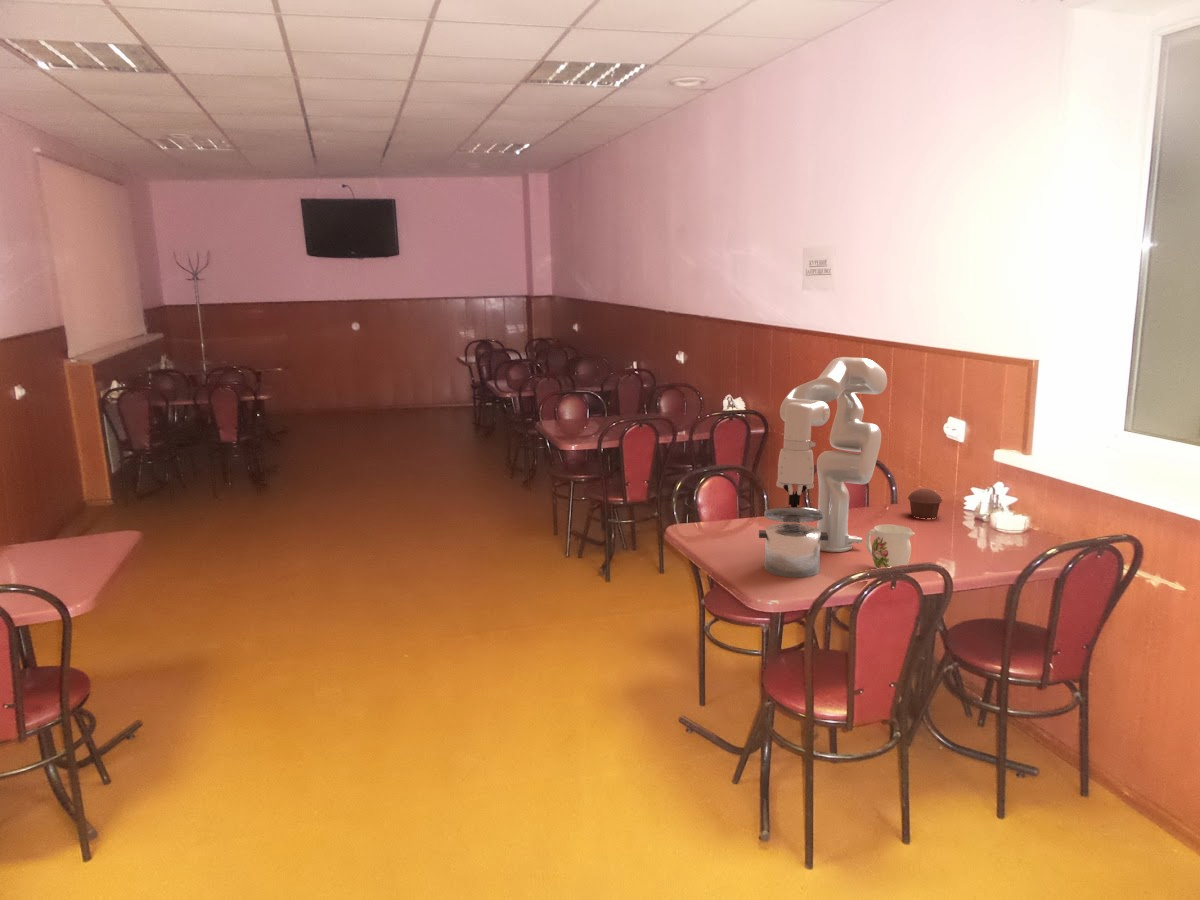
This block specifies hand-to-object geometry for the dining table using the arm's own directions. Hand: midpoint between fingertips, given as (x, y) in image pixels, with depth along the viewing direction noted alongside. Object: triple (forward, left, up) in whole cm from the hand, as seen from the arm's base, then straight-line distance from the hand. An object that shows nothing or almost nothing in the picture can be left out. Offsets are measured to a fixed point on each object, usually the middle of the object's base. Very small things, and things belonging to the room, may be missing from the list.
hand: (794, 507), depth 252 cm
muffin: (-51, -70, -20) cm, 89 cm away
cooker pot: (0, -4, -20) cm, 20 cm away
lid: (0, -4, -4) cm, 6 cm away
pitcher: (-28, -6, -20) cm, 35 cm away
